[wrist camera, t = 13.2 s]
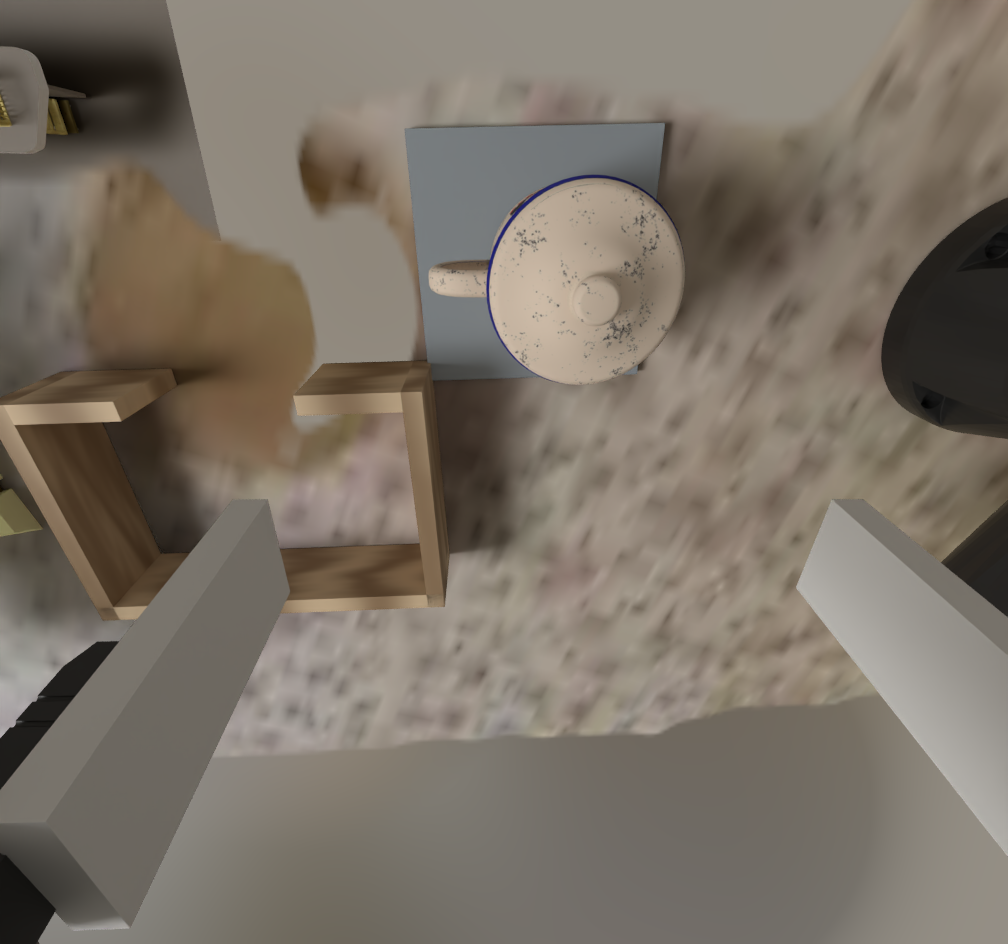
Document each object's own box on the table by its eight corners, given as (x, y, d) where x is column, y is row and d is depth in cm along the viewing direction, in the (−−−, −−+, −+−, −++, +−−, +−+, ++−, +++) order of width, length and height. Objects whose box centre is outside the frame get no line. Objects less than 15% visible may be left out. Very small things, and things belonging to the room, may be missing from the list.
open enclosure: (431, 360, 34) (421, 391, 28) (449, 554, 42) (444, 606, 36) (60, 371, 33) (-19, 405, 28) (151, 565, 41) (102, 620, 36)
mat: (661, 124, 28) (665, 122, 27) (634, 371, 34) (636, 373, 34) (406, 129, 27) (404, 128, 27) (430, 377, 34) (429, 380, 34)
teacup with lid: (646, 179, 28) (736, 173, 18) (625, 340, 33) (689, 408, 23) (432, 177, 28) (403, 169, 18) (441, 340, 32) (421, 409, 22)
